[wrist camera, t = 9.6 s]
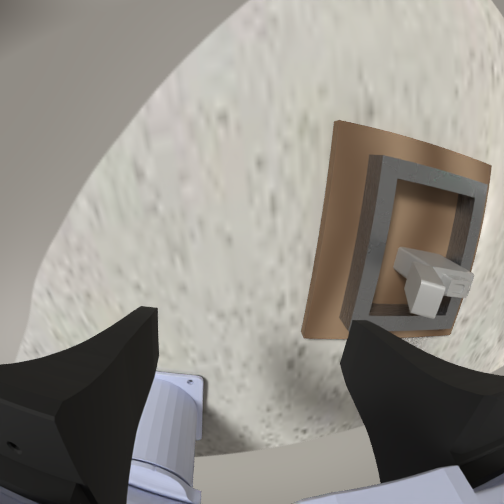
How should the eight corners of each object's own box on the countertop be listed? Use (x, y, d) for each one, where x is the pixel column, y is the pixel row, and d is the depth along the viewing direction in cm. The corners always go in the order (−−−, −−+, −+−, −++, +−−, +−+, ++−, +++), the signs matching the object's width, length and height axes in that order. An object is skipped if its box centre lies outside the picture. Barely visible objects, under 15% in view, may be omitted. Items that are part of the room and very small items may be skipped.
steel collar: (338, 317, 22) (348, 331, 20) (369, 154, 19) (383, 154, 17) (438, 317, 23) (451, 328, 21) (471, 181, 20) (487, 184, 18)
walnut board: (301, 331, 23) (303, 338, 22) (334, 121, 19) (339, 120, 18) (444, 329, 25) (450, 334, 24) (483, 164, 20) (491, 165, 20)
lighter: (440, 254, 21) (510, 295, 14) (434, 275, 22) (500, 322, 14) (363, 239, 20) (428, 285, 13) (356, 264, 21) (416, 319, 13)
